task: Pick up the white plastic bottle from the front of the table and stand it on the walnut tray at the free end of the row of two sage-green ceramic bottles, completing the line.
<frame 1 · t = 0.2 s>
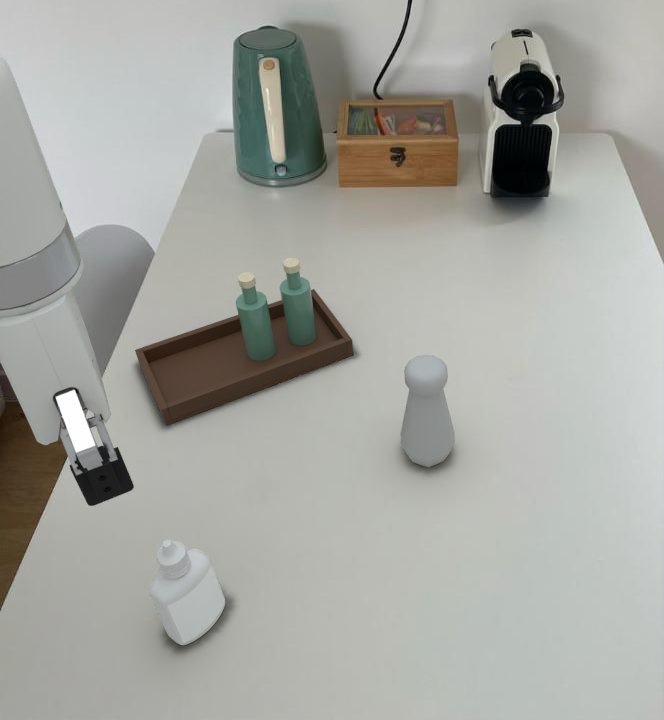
hand: (95, 449, 60), 22 cm above the table, tool pointing down, fingers open, 9 cm apart
salt shaker: (427, 453, 88), on the table
tray: (247, 360, 100), on the table
green bottle 1: (261, 351, 100), point 1 cm above the table, touching tray
white plastic bottle: (198, 620, 74), on the table
green bottle 2: (302, 336, 102), point 1 cm above the table, touching tray
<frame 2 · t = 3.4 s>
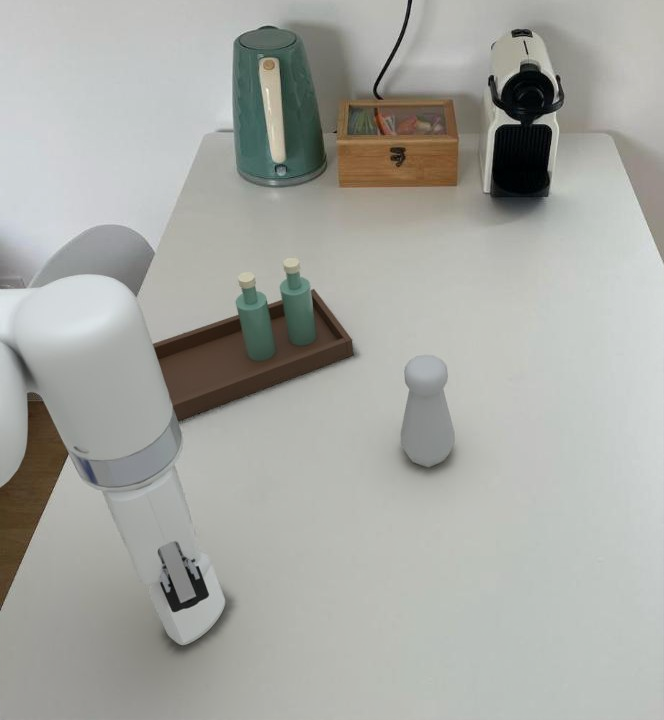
hand: (181, 578, 69), 7 cm above the table, tool pointing down, fingers closed on white plastic bottle, 4 cm apart
white plastic bottle: (198, 620, 74), on the table, touching gripper
everything else where it was.
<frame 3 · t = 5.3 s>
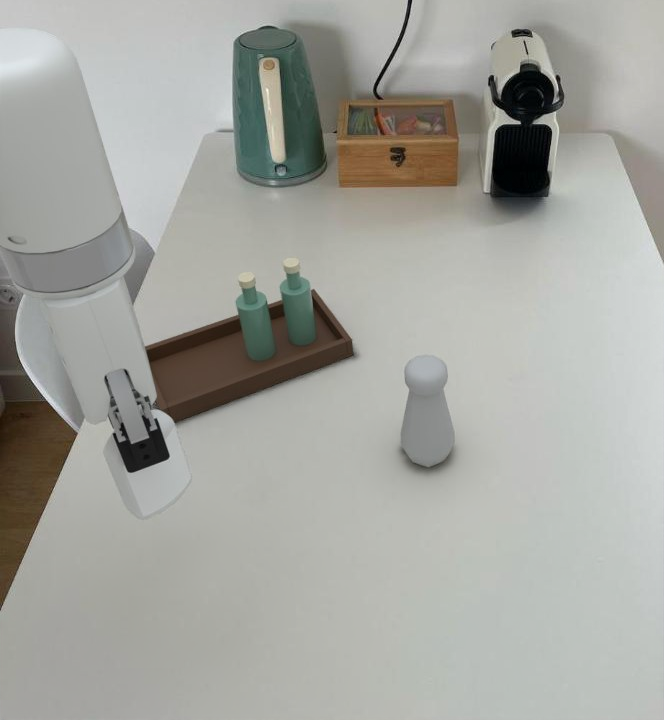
hand: (140, 440, 62), 21 cm above the table, tool pointing down, fingers closed on white plastic bottle, 4 cm apart
white plastic bottle: (161, 496, 67), point 14 cm above the table, touching gripper
everything else where it was.
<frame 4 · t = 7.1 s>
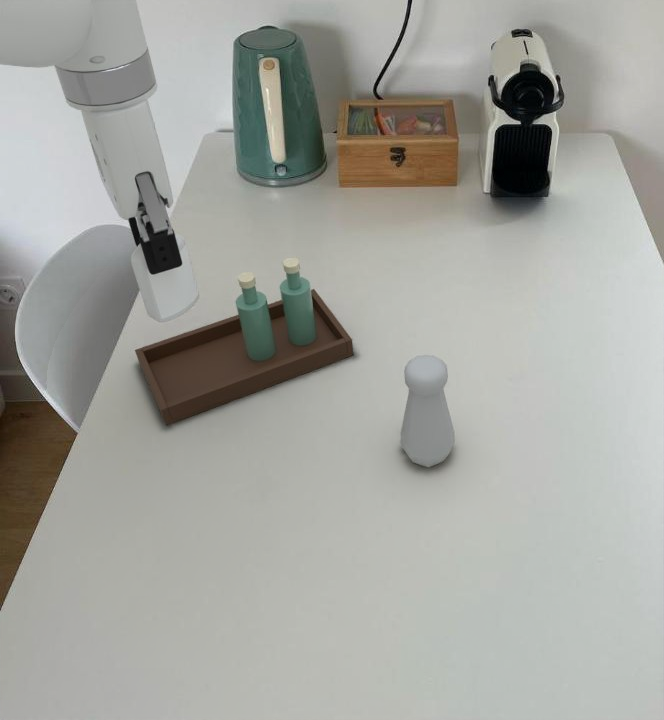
hand: (159, 254, 80), 21 cm above the table, tool pointing down, fingers closed on white plastic bottle, 4 cm apart
white plastic bottle: (175, 309, 84), point 14 cm above the table, touching gripper
everything else where it was.
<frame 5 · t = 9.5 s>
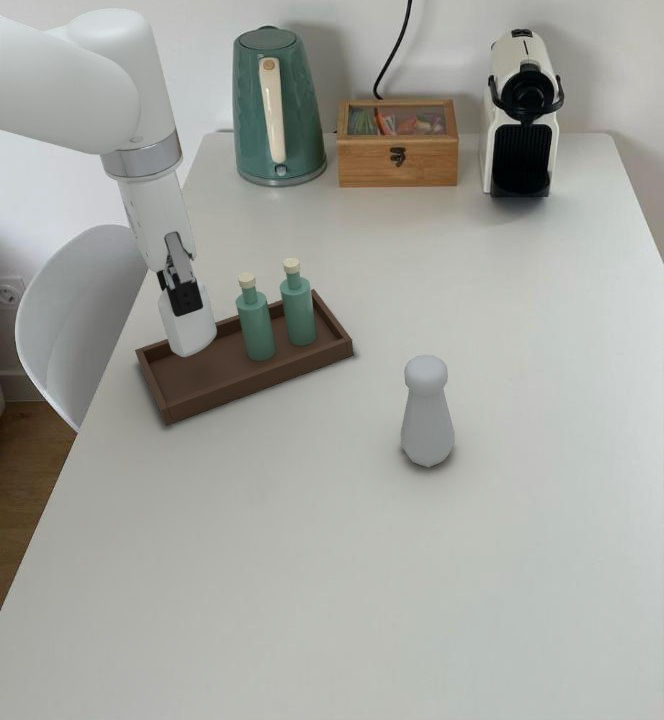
hand: (182, 298, 90), 12 cm above the table, tool pointing down, fingers closed on white plastic bottle, 4 cm apart
white plastic bottle: (195, 344, 94), point 5 cm above the table, touching gripper
everything else where it was.
when the fingers open (7 cm above the table, at t = 11.0 s): white plastic bottle stays where it is, resting on tray.
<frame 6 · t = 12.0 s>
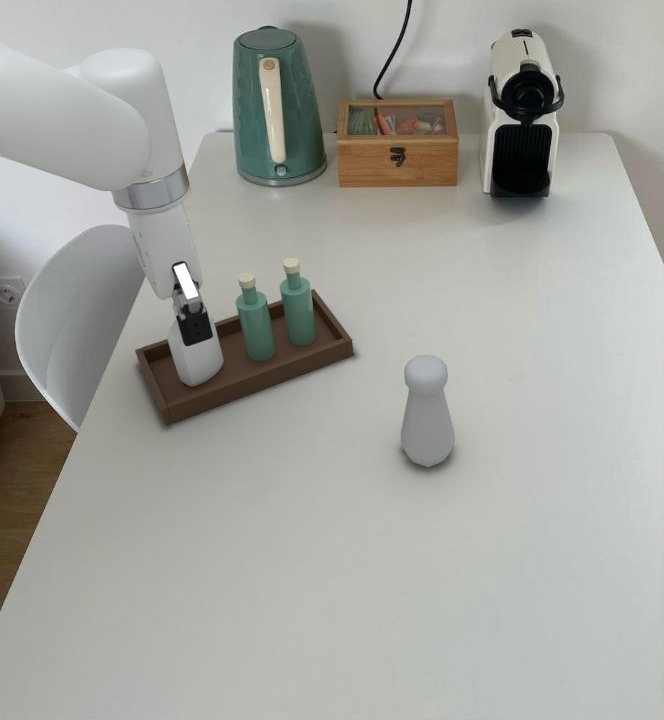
hand: (185, 316, 91), 9 cm above the table, tool pointing down, fingers open, 9 cm apart
white plastic bottle: (203, 373, 97), resting on tray
everything else where it was.
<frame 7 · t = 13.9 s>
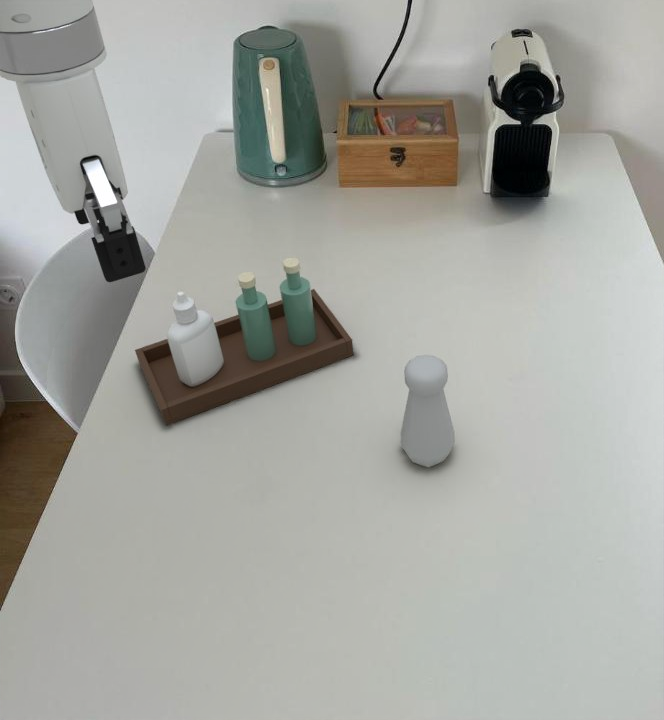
hand: (110, 245, 68), 29 cm above the table, tool pointing down, fingers open, 9 cm apart
nothing on the table moved.
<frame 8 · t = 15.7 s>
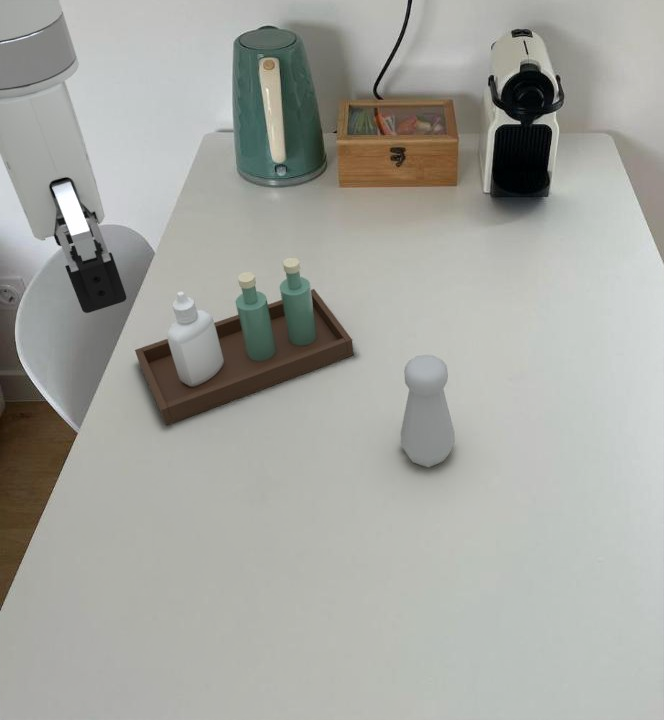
hand: (90, 270, 63), 30 cm above the table, tool pointing down, fingers open, 9 cm apart
nothing on the table moved.
at the end: white plastic bottle 0.1 cm from the target spot in the tray, point 0.4 cm above the tray's base; white plastic bottle tilted 0°; green bottle 1 moved 0.0 cm from its start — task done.
